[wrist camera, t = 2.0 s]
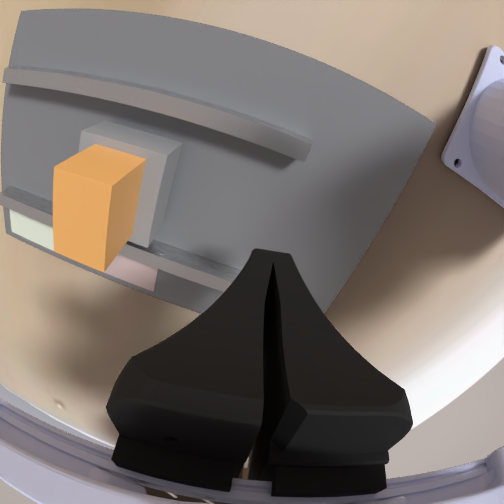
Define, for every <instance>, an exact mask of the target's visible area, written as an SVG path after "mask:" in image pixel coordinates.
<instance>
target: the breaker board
mask: <svg viewBox="0 0 504 504" xmlns="http://www.w3.org/2000/svg"><path fill="white" fill-rule="evenodd" d="M2 83H6V88H5V96H4V106H3V119H2V139H1V176H2V192H0V205H2V206H3V209H4V219H5V228H6V233H7V234H9V235H11V236H13V237H15V238H17V239H19V240H21V241H23V242H25V243H27V244H29V245H32V246H34V247H36V248H38V249H40V250H42V251H44V252H47V253H49V254H51V255H53V256H55V257H58V258H60V259H62V260H64V261H67V262H69V263H71V264H74V265H76V266H78V267H81V268H83V269H85V270H88V271H90V272H92V273H95V274H97V275H100V276H102V277H105V278H107V279H109V280H112V281H114V282H117V283H119V284H122V285H125V286H127V287H130V288H132V289H135V290H137V291H140V292H143V293H145V294H148V295H151V296H153V297H156V298H159V299H161V300H164V301H167V302H170V303H172V304H175V305H178V306H181V307H184V308H187V309H189V310H192V311H195V312H198V313H201V314H202V313H203V312H204V311H206V310H207V309H208V308H209V307H210V306H211V305H212V304H213V303H214V302H215V301H216V300H217V299H218V298H219V297H220V296H221V295H222V294H223V293H224V292H225V290H226V289H227V288H228V287H229V286H230V285H231V284H232V282H233V281H234V280H235V279H236V277H237V276H238V274H239V273H240V272H241V270H242V269H243V267H244V266H245V264H246V262H247V261H248V259H249V257H250V255H251V252H252V250H253V249H255V248H258V249H264V250H271V251H277V252H283V253H290V254H291V256H292V257H293V260H294V262H295V264H296V266H297V268H298V271H299V273H300V275H301V277H302V279H303V280H304V282H305V284H306V286H307V288H308V289H309V291H310V293H311V295H312V296H313V298H314V299H315V301H316V303H317V304H318V306H319V307H320V309H321V310H322V312H323V313H324V314H325V312H326V311H327V309H328V308H329V307H330V305H331V304H332V302H333V301H334V299H335V298H336V297H337V295H338V294H339V292H340V291H341V289H342V288H343V286H344V285H345V283H346V282H347V280H348V279H349V277H350V276H351V274H352V273H353V271H354V270H355V268H356V267H357V265H358V263H359V262H360V260H361V259H362V257H363V256H364V254H365V253H366V251H367V249H368V248H369V246H370V245H371V243H372V241H373V240H374V238H375V236H376V235H377V233H378V232H379V230H380V228H381V227H382V225H383V223H384V222H385V220H386V218H387V217H388V215H389V213H390V211H391V210H392V208H393V206H394V205H395V203H396V201H397V199H398V198H399V196H400V194H401V192H402V190H403V189H404V187H405V185H406V183H407V181H408V180H409V178H410V176H411V174H412V172H413V170H414V169H415V167H416V165H417V163H418V161H419V159H420V157H421V155H422V153H423V151H424V149H425V147H426V145H427V143H428V141H429V139H430V137H431V135H432V133H433V131H434V129H435V127H436V125H437V124H435V123H434V122H432V121H431V120H429V119H428V118H426V117H424V116H423V115H421V114H420V113H418V112H417V111H415V110H413V109H412V108H410V107H408V106H407V105H405V104H403V103H402V102H400V101H398V100H397V99H395V98H393V97H391V96H390V95H388V94H386V93H384V92H382V91H380V90H379V89H377V88H375V87H373V86H371V85H369V84H367V83H365V82H363V81H361V80H359V79H357V78H355V77H353V76H351V75H349V74H347V73H345V72H343V71H341V70H338V69H336V68H334V67H332V66H329V65H327V64H325V63H323V62H320V61H318V60H315V59H313V58H311V57H308V56H306V55H303V54H301V53H298V52H295V51H293V50H290V49H287V48H285V47H282V46H279V45H276V44H273V43H270V42H267V41H264V40H261V39H258V38H255V37H251V36H248V35H245V34H241V33H238V32H234V31H231V30H227V29H223V28H219V27H215V26H211V25H207V24H202V23H198V22H193V21H188V20H183V19H177V18H172V17H166V16H160V15H153V14H145V13H137V12H128V11H117V10H102V9H42V10H28V11H21V14H20V17H19V21H18V25H17V29H16V33H15V37H14V42H13V46H12V51H11V56H10V62H9V68H5V69H4V75H3V82H2ZM103 121H108V122H111V123H115V124H119V125H123V126H126V127H130V128H134V129H137V130H141V131H144V132H148V133H151V134H155V135H158V136H162V137H165V138H168V139H172V140H175V141H178V142H181V143H183V145H182V148H181V152H180V156H179V159H178V163H177V167H176V170H175V174H174V178H173V182H172V186H171V190H170V194H169V198H168V202H167V207H166V211H165V215H164V220H163V224H162V227H161V229H160V230H159V231H158V233H157V234H156V236H155V237H154V239H153V240H152V242H151V243H150V245H149V246H148V248H146V247H143V246H141V245H138V244H135V243H133V242H130V241H127V243H126V244H125V245H124V247H123V248H122V249H121V251H120V252H119V253H118V255H117V256H116V257H115V259H114V260H113V261H112V263H111V264H110V265H109V267H108V268H107V269H106V271H105V272H101V271H99V270H96V269H94V268H91V267H89V266H87V265H84V264H82V263H79V262H77V261H75V260H72V259H70V258H68V257H66V256H63V255H61V254H59V253H56V252H54V241H53V177H54V167H55V166H56V165H58V164H60V163H61V162H63V161H65V160H67V159H68V158H70V157H72V156H74V155H76V154H77V153H78V152H79V144H80V137H81V131H82V130H84V129H86V128H89V127H91V126H94V125H96V124H98V123H101V122H103Z"/></svg>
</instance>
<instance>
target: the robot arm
mask: <svg viewBox="0 0 504 504" xmlns="http://www.w3.org/2000/svg"><path fill="white" fill-rule="evenodd" d="M500 56H501V58H502V63H501V62H500ZM456 159H458V163H457V165H454V161H455V160H456ZM441 160H442V162H443V163H444V164H445V165H446V166H447V167H449V168H450V169H452V170H453V171H455V172H456V173H458V174H459V175H460V176H462V177H463V178H465V179H466V180H467V181H469V182H470V183H472V184H473V185H474V186H476V187H477V188H478V189H480V190H481V191H482V192H484V193H485V194H486V195H488V196H489V197H490V198H491V199H493V200H494V201H495V202H496V203H498V204H499V205H500V206H501V207H503V208H504V52H503V51H502V50H501V49H500V48H499V47H497V46H489V47H488V49H487V51H486V54H485V57H484V60H483V62H482V65H481V68H480V70H479V73H478V75H477V78H476V80H475V83H474V85H473V87H472V90H471V92H470V95H469V97H468V99H467V101H466V104H465V106H464V108H463V110H462V113H461V115H460V117H459V119H458V121H457V123H456V126H455V128H454V130H453V132H452V134H451V136H450V138H449V140H448V142H447V144H446V146H445V148H444V150H443V152H442V155H441ZM106 409H107V413H108V415H109V417H110V418H111V420H112V422H113V424H114V426H115V427H116V429H117V431H118V432H119V437H118V440H117V443H116V446H115V449H114V450H112V449H108V448H106V447H103V446H100V445H97V444H95V443H92V442H89V441H87V440H84V439H82V438H79V437H76V436H74V435H72V434H70V433H67V432H65V431H63V430H60V429H58V428H56V427H54V426H52V425H49V424H47V423H45V422H43V421H41V420H39V419H37V418H35V417H33V416H31V415H29V414H27V413H25V412H24V411H22V410H20V409H18V408H16V407H14V406H13V405H11V404H9V403H7V402H6V401H4V400H2V399H1V398H0V479H1V480H3V481H4V482H5V483H7V484H8V485H10V486H11V487H13V488H14V489H16V490H17V491H19V492H20V493H22V494H23V495H25V496H27V497H28V498H30V499H32V500H33V501H35V502H37V503H39V504H208V503H198V502H182V501H177V500H171V499H166V498H161V497H156V496H151V495H148V494H147V493H146V491H147V490H146V489H145V487H142V486H140V485H143V486H146V487H150V488H154V489H157V490H161V491H165V492H169V493H174V494H178V495H183V496H188V497H193V498H198V499H204V500H210V501H216V502H223V503H230V504H504V446H503V447H501V448H499V449H497V450H495V451H494V452H492V453H491V454H489V455H488V456H487V457H486V458H484V459H481V460H478V461H474V462H471V463H467V464H463V465H459V466H455V467H451V468H447V469H443V470H438V471H433V472H428V473H423V474H418V475H412V476H406V477H398V478H391V479H386V474H385V464H387V463H388V462H389V454H388V450H389V449H390V448H391V447H392V446H394V445H395V444H396V443H397V442H399V441H400V440H401V439H402V438H403V437H404V436H405V435H406V434H407V433H408V432H409V431H410V430H411V427H412V425H413V420H412V416H411V410H410V406H409V402H408V399H407V396H406V393H405V390H404V389H403V388H402V387H400V386H399V385H397V384H396V383H395V382H393V381H392V380H390V379H389V378H388V377H386V376H385V375H384V374H382V373H381V372H380V371H378V370H377V369H376V368H375V367H374V366H372V365H371V364H370V363H369V362H368V361H367V360H365V359H364V358H363V357H362V356H361V355H360V354H359V353H358V352H357V351H356V350H355V349H354V348H353V347H352V346H351V345H350V344H349V343H348V342H347V341H346V340H345V339H344V338H343V337H342V336H341V335H340V333H339V332H338V331H337V330H336V329H335V328H334V326H333V325H332V324H331V323H330V321H329V320H328V319H327V317H326V316H325V315H324V313H323V312H322V310H321V309H320V307H319V306H318V304H317V303H316V301H315V299H314V298H313V296H312V295H311V293H310V291H309V289H308V288H307V286H306V284H305V282H304V280H303V279H302V277H301V275H300V273H299V271H298V268H297V266H296V264H295V262H294V260H293V257H292V256H291V254H290V253H283V252H277V251H271V250H264V249H258V248H255V249H253V250H252V252H251V255H250V257H249V259H248V261H247V262H246V264H245V266H244V267H243V269H242V270H241V272H240V273H239V274H238V276H237V277H236V279H235V280H234V281H233V282H232V284H231V285H230V286H229V287H228V288H227V289H226V290H225V292H224V293H223V294H222V295H221V296H220V297H219V298H218V299H217V300H216V301H215V302H214V303H213V304H212V305H211V306H210V307H209V308H208V309H207V310H206V311H204V312H203V313H202V314H201V315H200V316H198V317H197V318H196V319H195V320H193V321H192V322H191V323H190V324H188V325H187V326H186V327H184V328H183V329H181V330H180V331H178V332H176V333H175V334H173V335H172V336H170V337H169V338H167V339H166V340H164V341H162V342H161V343H159V344H157V345H155V346H153V347H151V348H149V349H147V350H145V351H143V352H141V353H139V354H137V355H135V356H133V357H131V359H130V360H129V361H128V363H127V364H126V366H125V367H124V369H123V370H122V372H121V374H120V375H119V377H118V379H117V381H116V382H115V385H114V387H113V390H112V392H111V395H110V398H109V400H108V403H107V405H106ZM251 449H252V453H251V460H250V466H249V473H248V479H239V478H238V477H239V474H240V472H241V470H242V467H243V465H244V463H246V461H247V459H248V456H249V454H250V452H251ZM132 482H133V483H132ZM135 483H136V484H135ZM137 484H139V485H137Z"/></svg>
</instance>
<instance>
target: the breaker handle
mask: <svg viewBox="0 0 504 504" xmlns="http://www.w3.org/2000/svg"><path fill="white" fill-rule="evenodd" d="M182 145H183V143H181V142H178V141H175V140H172V139H168V138H165V137H162V136H158V135H155V134H151V133H148V132H144V131H141V130H137V129H134V128H130V127H126V126H123V125H119V124H115V123H111V122H108V121H103V122H101V123H98V124H96V125H94V126H91V127H89V128H86V129H84V130H82V131H81V137H80V144H79V152H78V153H77V154H76V155H74V156H72V157H70V158H68V159H67V160H65V161H63V162H61V163H60V164H58V165H56V166H55V167H54V177H53V241H54V252H56V253H59V254H61V255H63V256H66V257H68V258H70V259H72V260H75V261H77V262H79V263H82V264H84V265H87V266H89V267H91V268H94V269H96V270H99V271H101V272H105V271H106V269H107V268H108V267H109V265H110V264H111V263H112V261H113V260H114V259H115V257H116V256H117V255H118V253H119V252H120V251H121V249H122V248H123V247H124V245H125V244H126V243H127V241H130V242H133V243H135V244H138V245H141V246H143V247H146V248H148V246H149V245H150V243H151V242H152V240H153V239H154V237H155V236H156V234H157V233H158V231H159V230H160V229H161V227H162V224H163V220H164V215H165V211H166V207H167V202H168V198H169V194H170V190H171V186H172V182H173V178H174V174H175V170H176V167H177V163H178V159H179V156H180V152H181V148H182Z"/></svg>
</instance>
